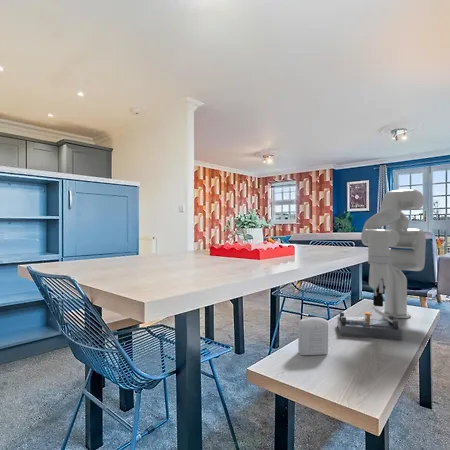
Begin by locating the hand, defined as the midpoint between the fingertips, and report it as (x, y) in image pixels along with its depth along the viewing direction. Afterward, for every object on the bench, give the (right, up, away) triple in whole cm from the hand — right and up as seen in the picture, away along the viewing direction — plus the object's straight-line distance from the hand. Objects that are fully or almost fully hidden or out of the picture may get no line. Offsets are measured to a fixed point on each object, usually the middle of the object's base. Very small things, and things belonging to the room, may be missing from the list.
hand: (378, 305), depth 126 cm
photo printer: (-31, -12, -18) cm, 38 cm away
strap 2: (+2, -5, 0) cm, 5 cm away
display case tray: (-4, -11, +1) cm, 12 cm away
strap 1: (-9, -7, +3) cm, 12 cm away
